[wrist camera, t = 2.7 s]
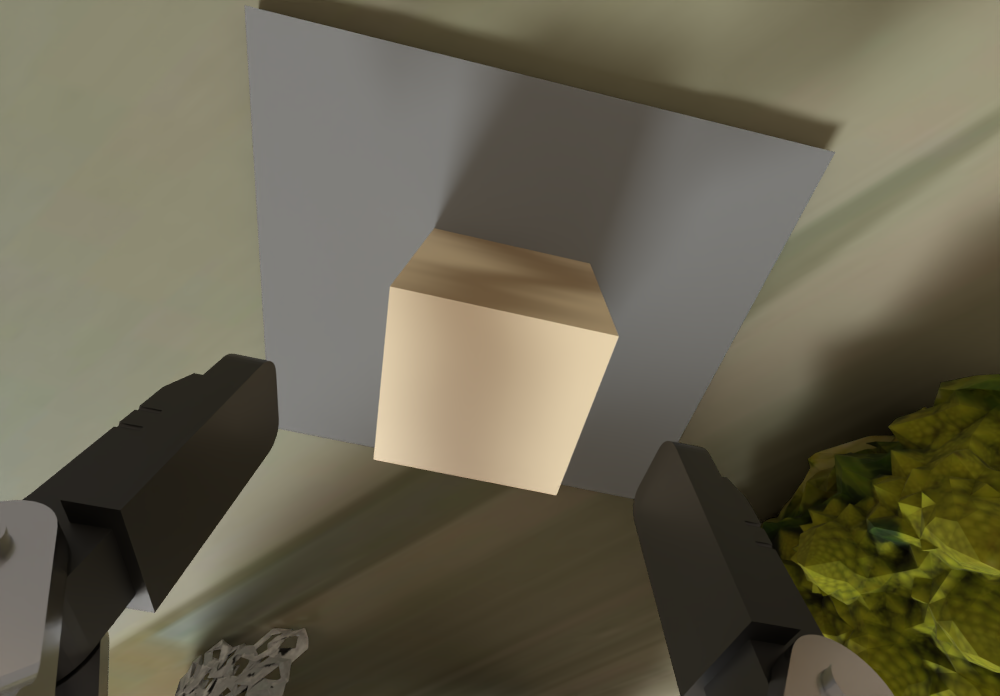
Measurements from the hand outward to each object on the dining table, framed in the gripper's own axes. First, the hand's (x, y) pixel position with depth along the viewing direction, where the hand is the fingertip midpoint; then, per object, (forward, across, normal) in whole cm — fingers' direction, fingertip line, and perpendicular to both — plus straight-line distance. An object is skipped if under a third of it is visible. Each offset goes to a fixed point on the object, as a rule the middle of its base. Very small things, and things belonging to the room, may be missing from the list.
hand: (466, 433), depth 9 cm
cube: (+6, 0, 0) cm, 7 cm away
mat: (+7, 0, 0) cm, 7 cm away
